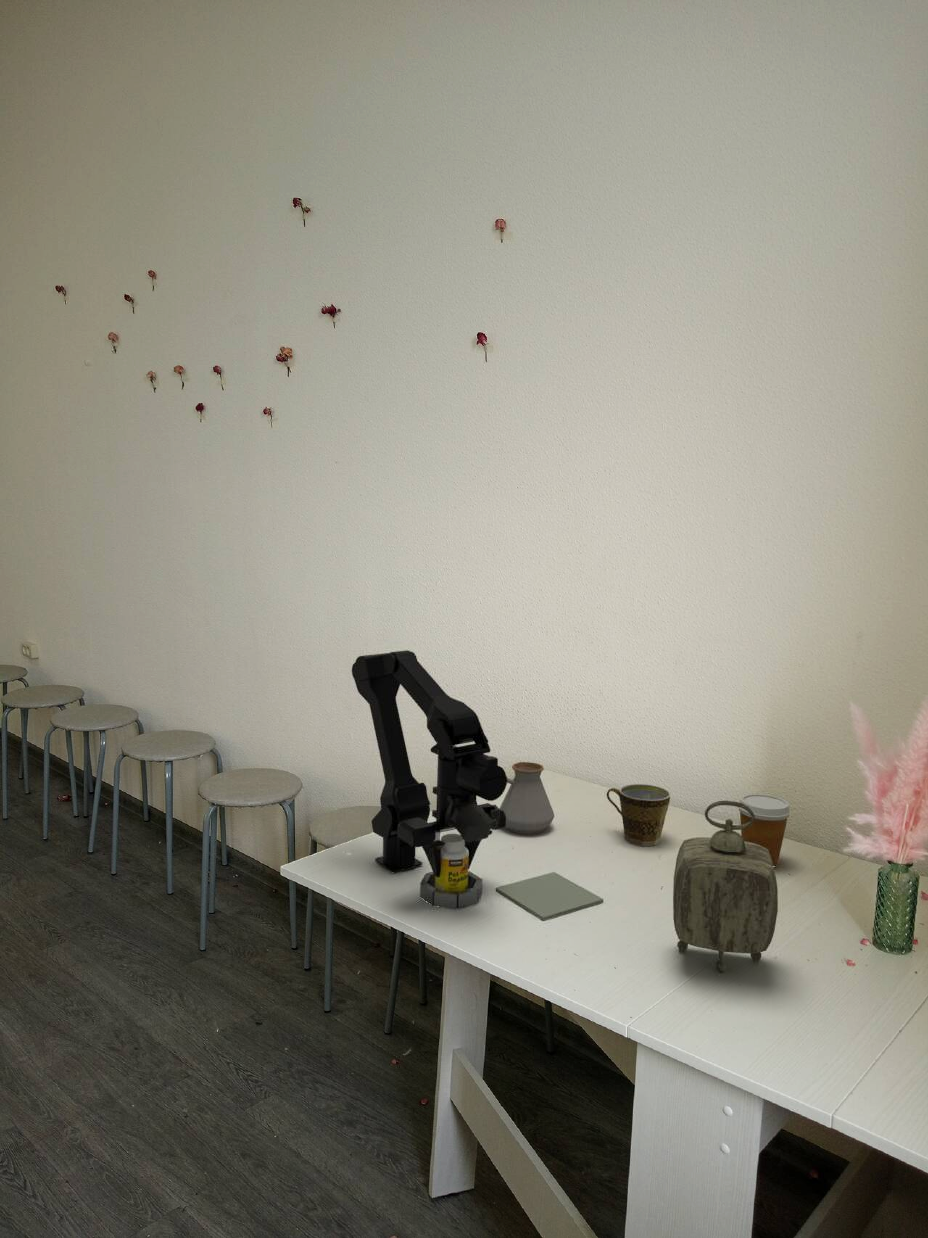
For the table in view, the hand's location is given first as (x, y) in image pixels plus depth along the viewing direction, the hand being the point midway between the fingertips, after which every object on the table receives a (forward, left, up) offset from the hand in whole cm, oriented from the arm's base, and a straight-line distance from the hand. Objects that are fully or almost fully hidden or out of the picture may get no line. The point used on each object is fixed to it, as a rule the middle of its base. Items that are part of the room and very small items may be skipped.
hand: (451, 872), depth 159 cm
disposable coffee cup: (+18, +58, -4) cm, 61 cm away
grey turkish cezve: (-20, +26, -4) cm, 33 cm away
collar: (0, 0, -4) cm, 4 cm away
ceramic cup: (-3, +46, -4) cm, 46 cm away
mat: (+9, +14, -4) cm, 17 cm away
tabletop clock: (+40, +21, -4) cm, 45 cm away
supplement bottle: (0, 0, -4) cm, 4 cm away
